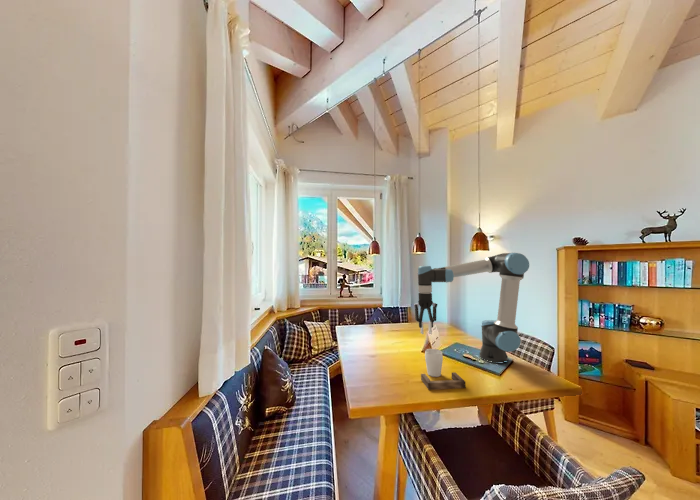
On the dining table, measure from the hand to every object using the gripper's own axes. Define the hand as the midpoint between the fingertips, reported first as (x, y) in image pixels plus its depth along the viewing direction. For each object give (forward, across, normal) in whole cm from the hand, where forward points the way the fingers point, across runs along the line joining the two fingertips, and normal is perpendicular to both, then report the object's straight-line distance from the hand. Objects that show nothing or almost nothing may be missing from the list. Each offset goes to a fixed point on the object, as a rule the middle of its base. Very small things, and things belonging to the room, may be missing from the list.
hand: (426, 333), depth 148 cm
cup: (+19, 0, +10) cm, 22 cm away
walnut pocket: (+19, 0, +22) cm, 28 cm away
